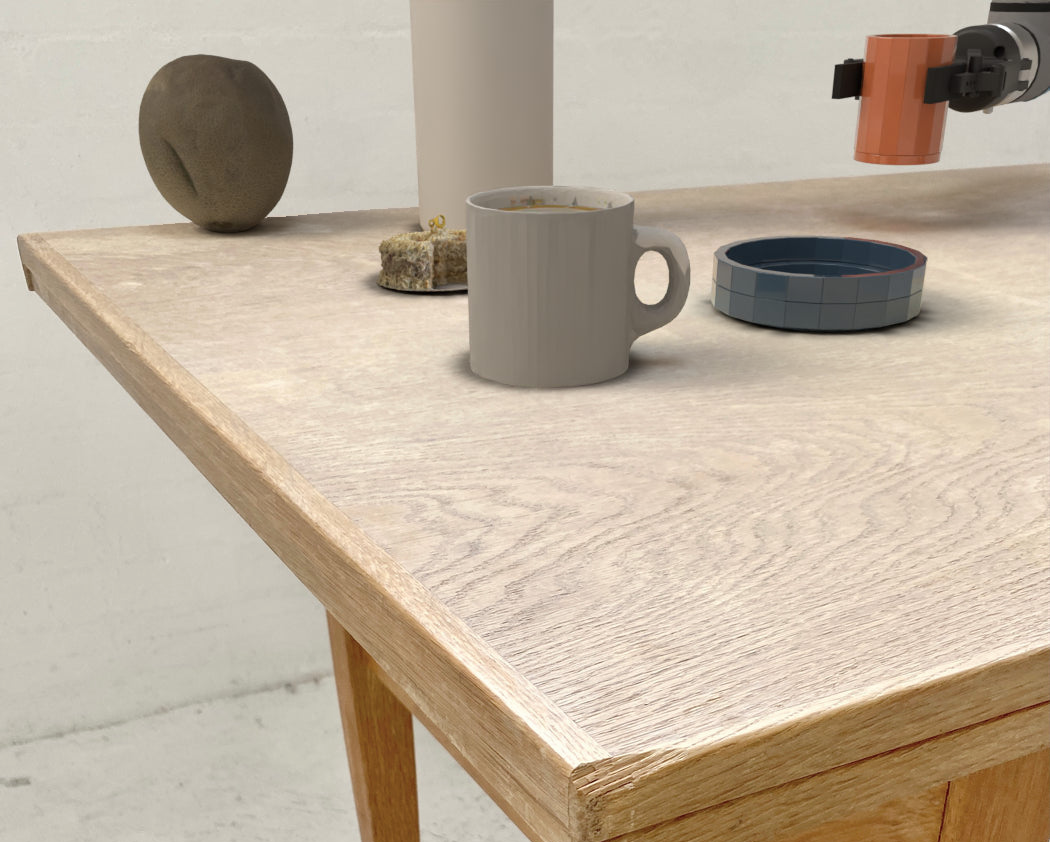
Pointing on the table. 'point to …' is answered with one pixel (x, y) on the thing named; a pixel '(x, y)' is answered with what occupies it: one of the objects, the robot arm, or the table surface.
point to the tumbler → (901, 99)
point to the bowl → (818, 282)
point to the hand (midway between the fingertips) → (882, 84)
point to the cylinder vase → (480, 100)
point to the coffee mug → (561, 284)
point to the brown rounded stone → (216, 140)
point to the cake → (424, 259)
